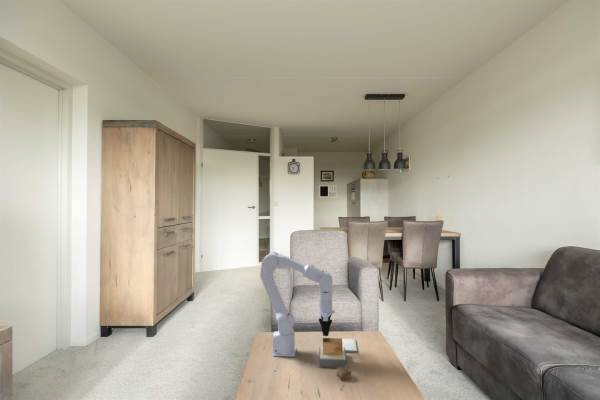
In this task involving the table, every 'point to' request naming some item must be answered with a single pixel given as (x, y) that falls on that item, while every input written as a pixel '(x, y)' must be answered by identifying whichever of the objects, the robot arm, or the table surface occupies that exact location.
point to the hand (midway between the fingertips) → (325, 332)
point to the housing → (332, 346)
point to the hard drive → (349, 345)
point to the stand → (332, 359)
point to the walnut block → (344, 373)
